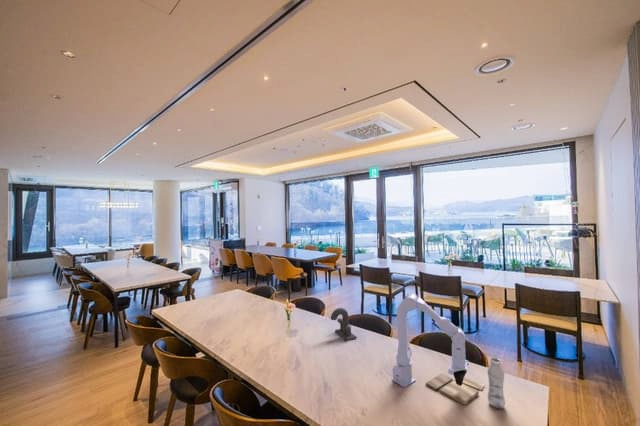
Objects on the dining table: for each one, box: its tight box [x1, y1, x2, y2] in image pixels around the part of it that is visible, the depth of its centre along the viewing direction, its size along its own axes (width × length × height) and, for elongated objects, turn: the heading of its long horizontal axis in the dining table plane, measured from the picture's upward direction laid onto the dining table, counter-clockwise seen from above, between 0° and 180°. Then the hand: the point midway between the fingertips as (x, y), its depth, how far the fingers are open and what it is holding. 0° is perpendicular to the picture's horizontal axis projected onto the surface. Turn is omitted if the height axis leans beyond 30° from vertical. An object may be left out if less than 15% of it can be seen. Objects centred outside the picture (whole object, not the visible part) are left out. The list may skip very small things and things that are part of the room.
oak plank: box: [438, 379, 480, 406], centre depth 129 cm, size 13×12×1 cm
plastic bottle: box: [486, 357, 506, 410], centre depth 121 cm, size 6×7×20 cm
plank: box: [462, 377, 486, 392], centre depth 137 cm, size 5×12×1 cm, turn 45°
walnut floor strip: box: [425, 373, 454, 392], centre depth 137 cm, size 14×6×1 cm, turn 125°
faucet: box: [330, 307, 358, 342], centre depth 194 cm, size 18×16×20 cm
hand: (459, 384), depth 129 cm, fingers closed
